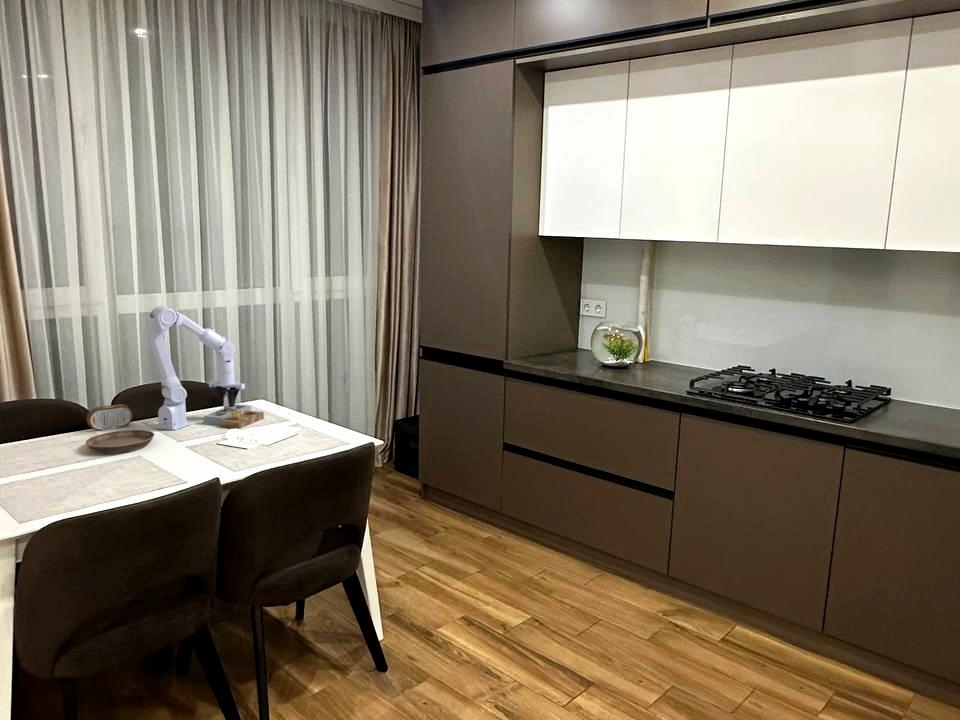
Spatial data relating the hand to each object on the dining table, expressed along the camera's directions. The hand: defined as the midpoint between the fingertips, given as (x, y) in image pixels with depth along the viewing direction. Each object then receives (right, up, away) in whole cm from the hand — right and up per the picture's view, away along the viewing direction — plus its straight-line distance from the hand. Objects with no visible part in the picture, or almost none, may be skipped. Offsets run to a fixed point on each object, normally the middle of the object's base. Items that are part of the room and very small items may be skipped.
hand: (227, 406), depth 280 cm
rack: (0, -5, +1) cm, 5 cm away
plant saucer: (-23, -11, -37) cm, 45 cm away
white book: (+20, -10, -23) cm, 32 cm away
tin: (-37, -7, -15) cm, 41 cm away
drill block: (+7, -6, -5) cm, 11 cm away
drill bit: (0, -3, +1) cm, 3 cm away
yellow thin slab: (+6, -6, -9) cm, 13 cm away
